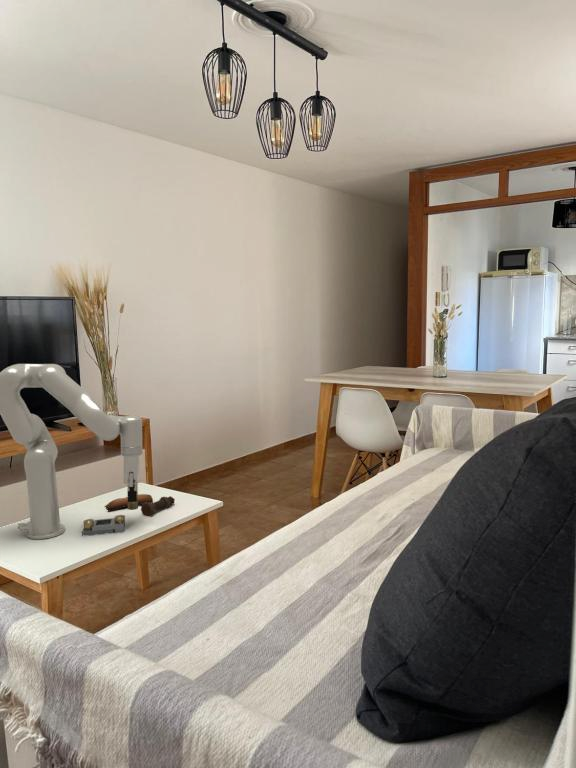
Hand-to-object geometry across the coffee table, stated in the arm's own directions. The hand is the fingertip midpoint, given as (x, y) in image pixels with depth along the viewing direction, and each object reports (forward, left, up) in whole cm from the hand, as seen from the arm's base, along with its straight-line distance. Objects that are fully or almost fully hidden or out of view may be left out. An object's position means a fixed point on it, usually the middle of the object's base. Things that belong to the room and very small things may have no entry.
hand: (132, 499), depth 213 cm
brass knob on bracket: (-10, -5, -9) cm, 14 cm away
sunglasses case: (-4, +22, -10) cm, 24 cm away
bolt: (+9, +12, -9) cm, 18 cm away
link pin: (0, 0, -3) cm, 3 cm away
